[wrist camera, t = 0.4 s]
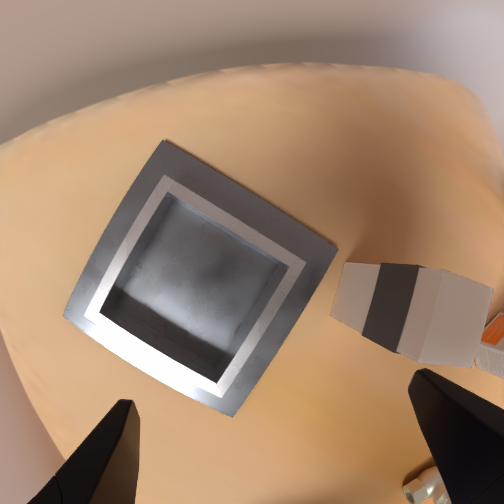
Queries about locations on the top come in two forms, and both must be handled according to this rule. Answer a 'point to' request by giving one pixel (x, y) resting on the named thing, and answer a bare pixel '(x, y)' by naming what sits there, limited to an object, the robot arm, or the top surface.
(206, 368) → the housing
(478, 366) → the skincare box
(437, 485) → the valve
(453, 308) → the plug
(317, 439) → the top surface
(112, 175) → the top surface
